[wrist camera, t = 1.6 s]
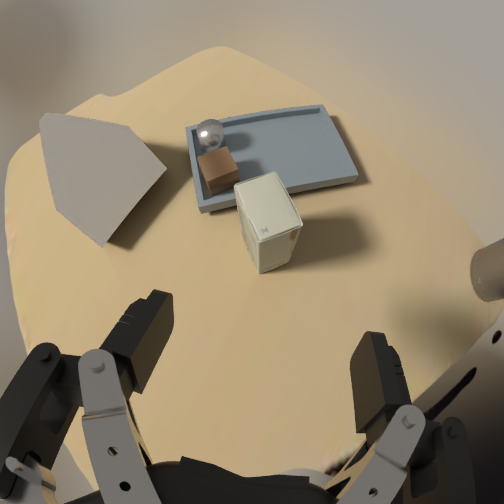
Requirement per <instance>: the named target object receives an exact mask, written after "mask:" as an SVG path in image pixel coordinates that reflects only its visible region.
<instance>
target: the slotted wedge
mask: <svg viewBox="0 0 504 504" xmlns="http://www.w3.org/2000/svg"><path fill="white" fill-rule="evenodd" d="M39 126H40V135H41V141H42V148H43V154H44V159H45V164H46V169H47V174H48V179H49V183H50V187H51V191H52V195H53V199H54V203H55V207H56V210H57V211H58V212H59V213H61V214H62V215H63V216H64V217H65V218H66V219H68V220H69V221H70V222H71V223H72V224H73V225H75V226H76V227H77V228H78V229H79V230H81V231H82V232H83V233H84V234H86V235H87V236H88V237H89V238H90V239H92V240H93V241H94V242H95V243H97V244H98V245H99V246H101V247H103V246H104V245H105V243H106V242H107V241H108V239H109V238H110V237H111V235H112V234H113V233H114V231H115V230H116V229H117V227H118V226H119V225H120V224H121V222H122V221H123V220H124V219H125V217H126V216H127V215H128V214H129V212H130V211H131V210H132V209H133V207H134V206H135V205H136V204H137V203H138V201H139V200H140V199H141V198H142V197H143V195H144V194H145V193H146V192H147V191H148V190H149V189H150V187H151V186H152V185H153V184H154V183H155V182H156V181H157V179H158V178H159V177H160V176H161V175H162V174H163V173H164V172H165V171H166V170H167V168H166V167H165V166H164V165H163V163H162V162H161V161H160V160H159V159H158V158H157V157H156V156H155V155H154V154H153V153H152V151H151V150H150V149H149V148H148V147H147V146H146V145H145V144H144V143H143V142H142V141H141V140H140V138H139V137H138V136H137V135H136V134H135V133H134V132H133V131H132V130H131V129H130V127H129V126H125V125H120V124H115V123H110V122H105V121H100V120H94V119H89V118H83V117H77V116H70V115H64V114H56V113H49V112H46V114H45V115H44V116H43V117H42V118H41V119H40V120H39Z"/></svg>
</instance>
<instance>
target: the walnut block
mask: <svg viewBox="0 0 504 504" xmlns="http://www.w3.org/2000/svg"><path fill="white" fill-rule="evenodd" d="M197 159H198V162H199V165H200V168H201V171H202V174H203V177H204V179H205V181H206V184H207V186H208V188H209V191H210V193H211V195H212V196H215V195H217V194H220V193H222V192H225V191H227V190H230V189H232V188H234V185H235V184H237V183H239V182H240V179H239V169H238V167H237V165H236V163H235V161H234V159H233V157H232V156H231V154H230V152H229V150H228V148H227V146H225V147H222V148H220V149H217V150H214V151H212V152H209V153H206V154H204V155H201V156H199V157H197Z"/></svg>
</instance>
